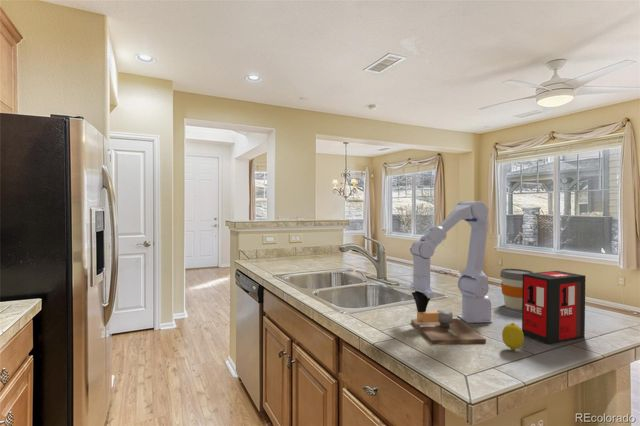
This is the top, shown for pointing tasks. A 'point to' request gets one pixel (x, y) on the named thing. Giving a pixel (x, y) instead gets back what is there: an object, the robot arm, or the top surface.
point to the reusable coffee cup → (512, 287)
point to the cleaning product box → (553, 306)
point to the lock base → (448, 332)
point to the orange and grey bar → (435, 316)
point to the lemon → (513, 336)
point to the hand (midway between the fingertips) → (421, 313)
